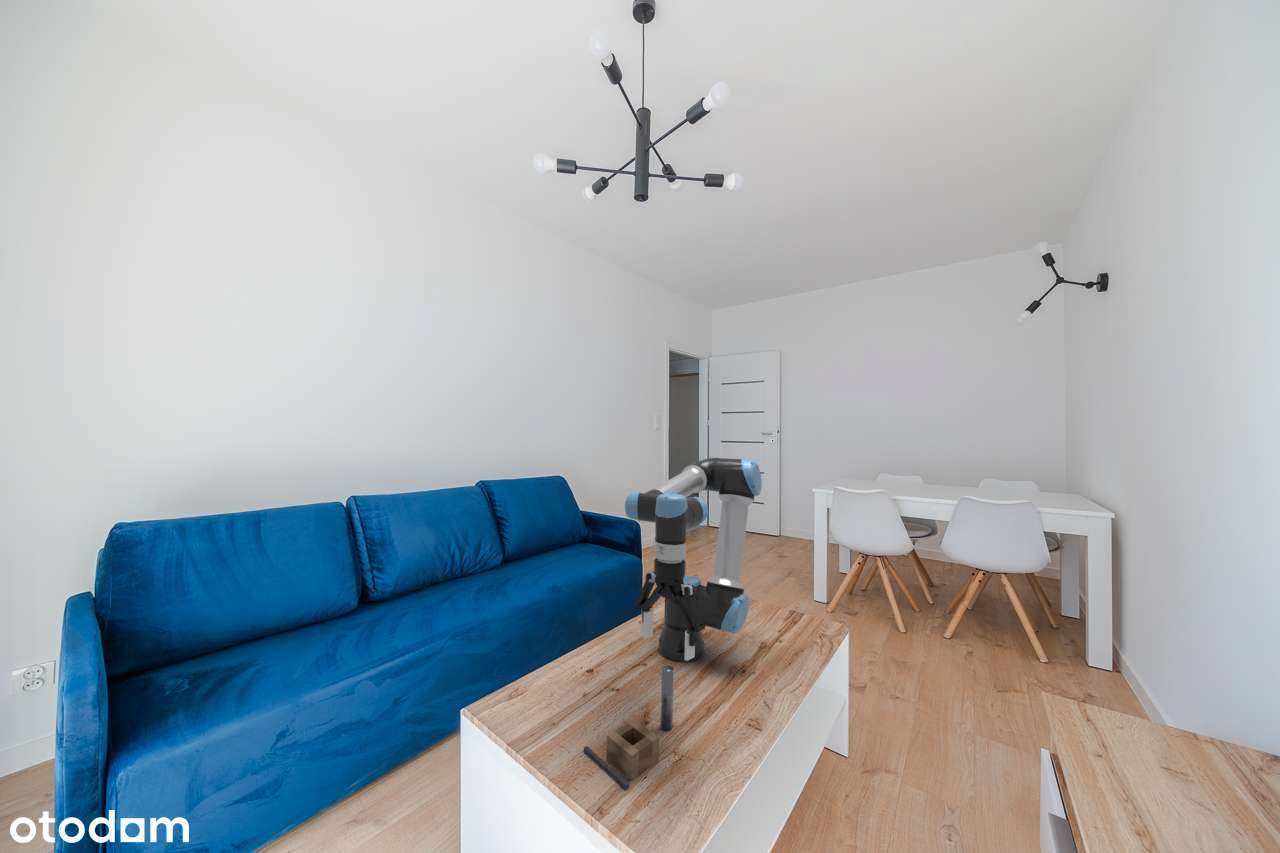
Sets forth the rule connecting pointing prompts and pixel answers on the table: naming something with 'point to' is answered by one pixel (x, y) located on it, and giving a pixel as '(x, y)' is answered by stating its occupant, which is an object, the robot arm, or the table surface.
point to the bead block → (632, 748)
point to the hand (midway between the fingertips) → (667, 647)
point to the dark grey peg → (667, 698)
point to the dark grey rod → (606, 768)
